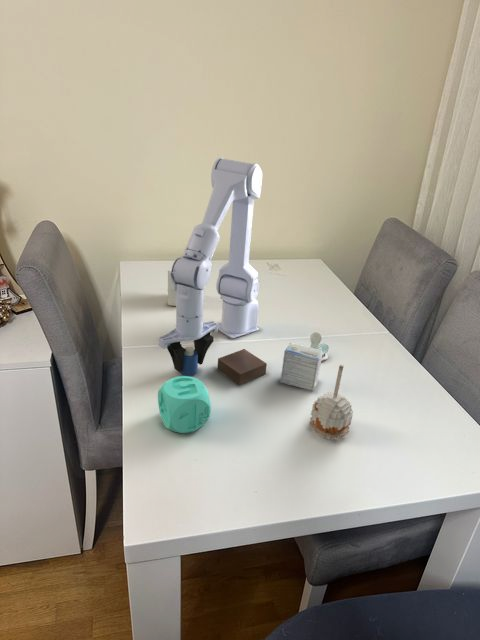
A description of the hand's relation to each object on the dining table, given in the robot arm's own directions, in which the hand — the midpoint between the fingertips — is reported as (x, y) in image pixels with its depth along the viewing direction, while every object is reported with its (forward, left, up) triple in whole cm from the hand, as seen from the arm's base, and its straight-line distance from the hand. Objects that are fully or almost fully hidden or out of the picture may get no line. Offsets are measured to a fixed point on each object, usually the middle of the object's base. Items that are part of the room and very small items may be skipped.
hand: (188, 366), depth 111 cm
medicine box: (-18, +18, -2) cm, 26 cm away
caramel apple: (-11, +33, -2) cm, 35 cm away
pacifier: (-30, +12, -2) cm, 32 cm away
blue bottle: (0, 0, -1) cm, 1 cm away
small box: (-20, -32, -2) cm, 38 cm away
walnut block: (-10, +7, -1) cm, 12 cm away
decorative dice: (+11, +14, -2) cm, 18 cm away
